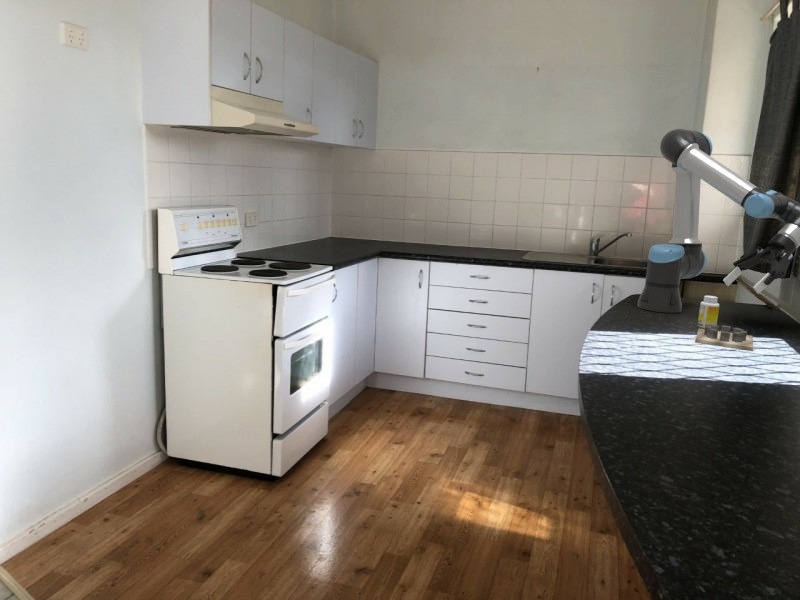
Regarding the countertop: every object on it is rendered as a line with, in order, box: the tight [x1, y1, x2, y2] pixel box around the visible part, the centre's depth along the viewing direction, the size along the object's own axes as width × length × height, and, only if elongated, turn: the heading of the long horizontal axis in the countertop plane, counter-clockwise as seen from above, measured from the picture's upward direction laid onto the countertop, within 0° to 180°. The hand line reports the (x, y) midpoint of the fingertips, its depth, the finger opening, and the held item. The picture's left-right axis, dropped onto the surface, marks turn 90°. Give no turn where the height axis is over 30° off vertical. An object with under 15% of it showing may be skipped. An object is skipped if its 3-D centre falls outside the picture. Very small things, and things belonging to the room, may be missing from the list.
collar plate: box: [694, 325, 754, 351], centre depth 198 cm, size 15×17×4 cm
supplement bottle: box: [697, 295, 720, 329], centre depth 215 cm, size 6×6×10 cm
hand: (740, 286), depth 215 cm, fingers open, 13 cm apart
